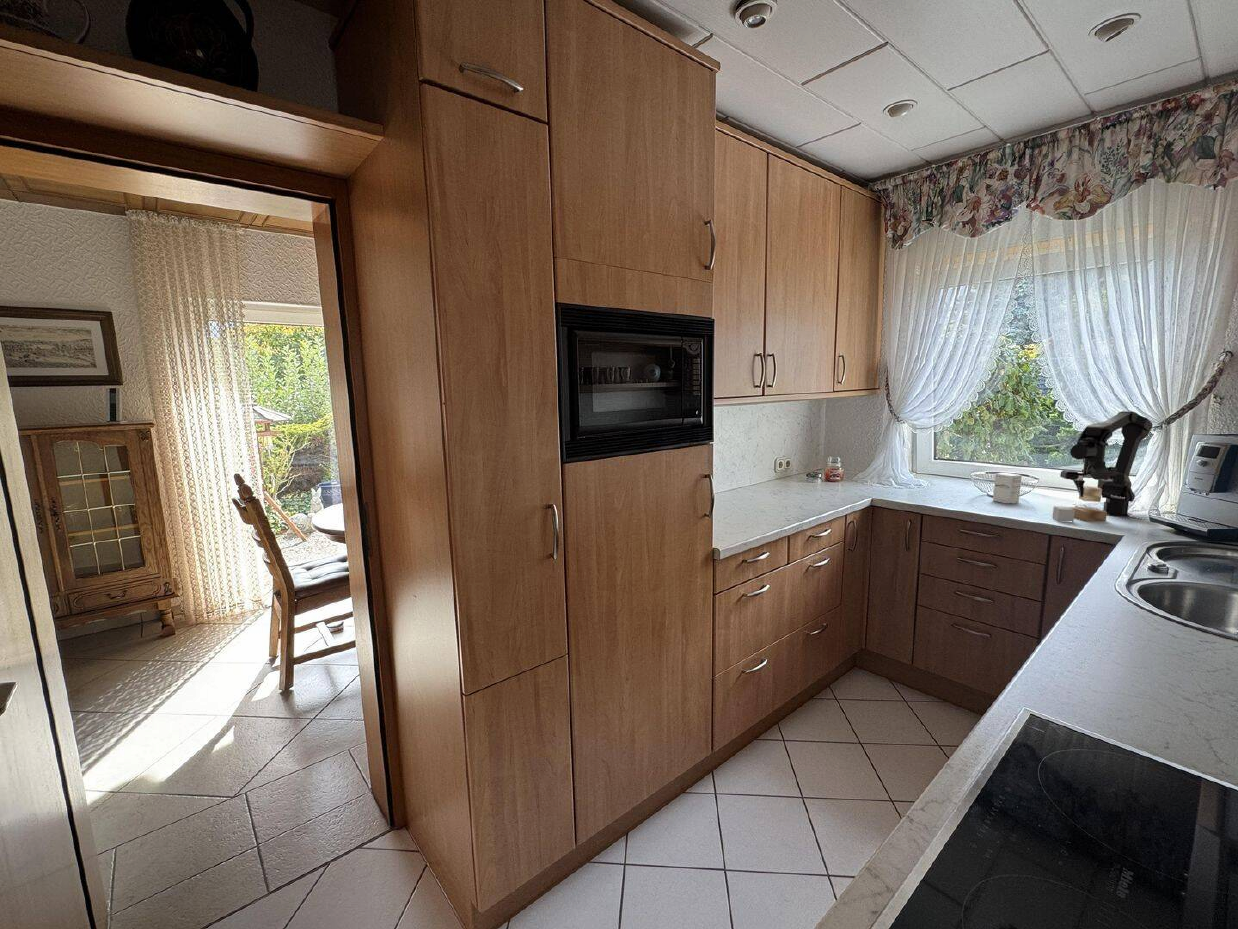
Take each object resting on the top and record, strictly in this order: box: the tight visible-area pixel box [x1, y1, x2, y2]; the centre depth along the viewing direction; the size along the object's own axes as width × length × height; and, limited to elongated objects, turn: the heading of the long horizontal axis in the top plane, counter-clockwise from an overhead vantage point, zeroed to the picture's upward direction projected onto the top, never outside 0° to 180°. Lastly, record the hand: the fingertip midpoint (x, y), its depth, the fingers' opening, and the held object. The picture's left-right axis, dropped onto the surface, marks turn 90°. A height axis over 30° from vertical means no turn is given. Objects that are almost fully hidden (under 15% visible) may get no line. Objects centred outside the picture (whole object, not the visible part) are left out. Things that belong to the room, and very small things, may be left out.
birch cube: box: [1078, 485, 1102, 503], centre depth 217 cm, size 5×5×5 cm
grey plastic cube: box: [1051, 505, 1075, 523], centre depth 215 cm, size 5×5×5 cm
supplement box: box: [992, 472, 1023, 504], centre depth 248 cm, size 7×7×13 cm
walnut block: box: [1069, 506, 1108, 522], centre depth 218 cm, size 8×8×4 cm
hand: (1089, 497), depth 217 cm, fingers closed on birch cube, 5 cm apart
